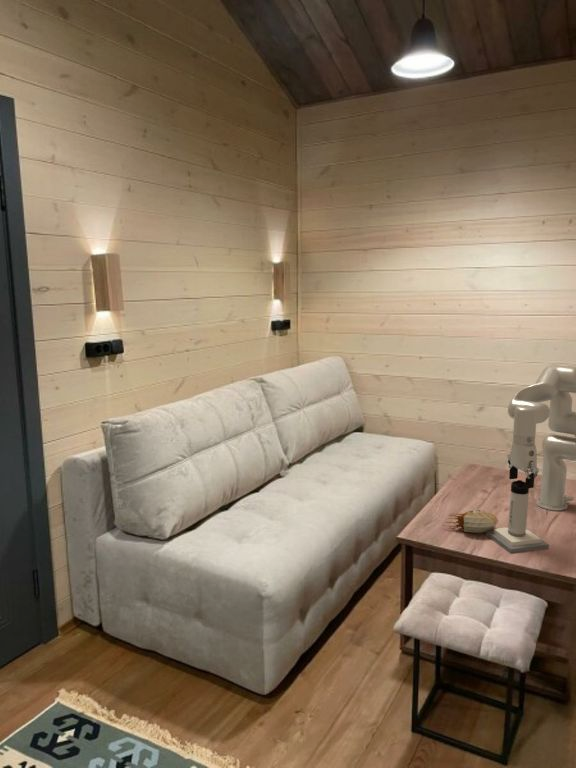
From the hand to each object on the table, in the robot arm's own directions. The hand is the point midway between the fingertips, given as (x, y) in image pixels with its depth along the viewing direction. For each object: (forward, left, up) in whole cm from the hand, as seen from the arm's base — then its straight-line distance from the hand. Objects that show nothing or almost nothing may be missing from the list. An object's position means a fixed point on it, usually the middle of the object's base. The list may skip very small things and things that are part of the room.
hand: (521, 483), depth 218 cm
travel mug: (0, 0, -20) cm, 20 cm away
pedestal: (+1, 0, -23) cm, 23 cm away
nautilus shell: (+12, -13, -23) cm, 29 cm away
